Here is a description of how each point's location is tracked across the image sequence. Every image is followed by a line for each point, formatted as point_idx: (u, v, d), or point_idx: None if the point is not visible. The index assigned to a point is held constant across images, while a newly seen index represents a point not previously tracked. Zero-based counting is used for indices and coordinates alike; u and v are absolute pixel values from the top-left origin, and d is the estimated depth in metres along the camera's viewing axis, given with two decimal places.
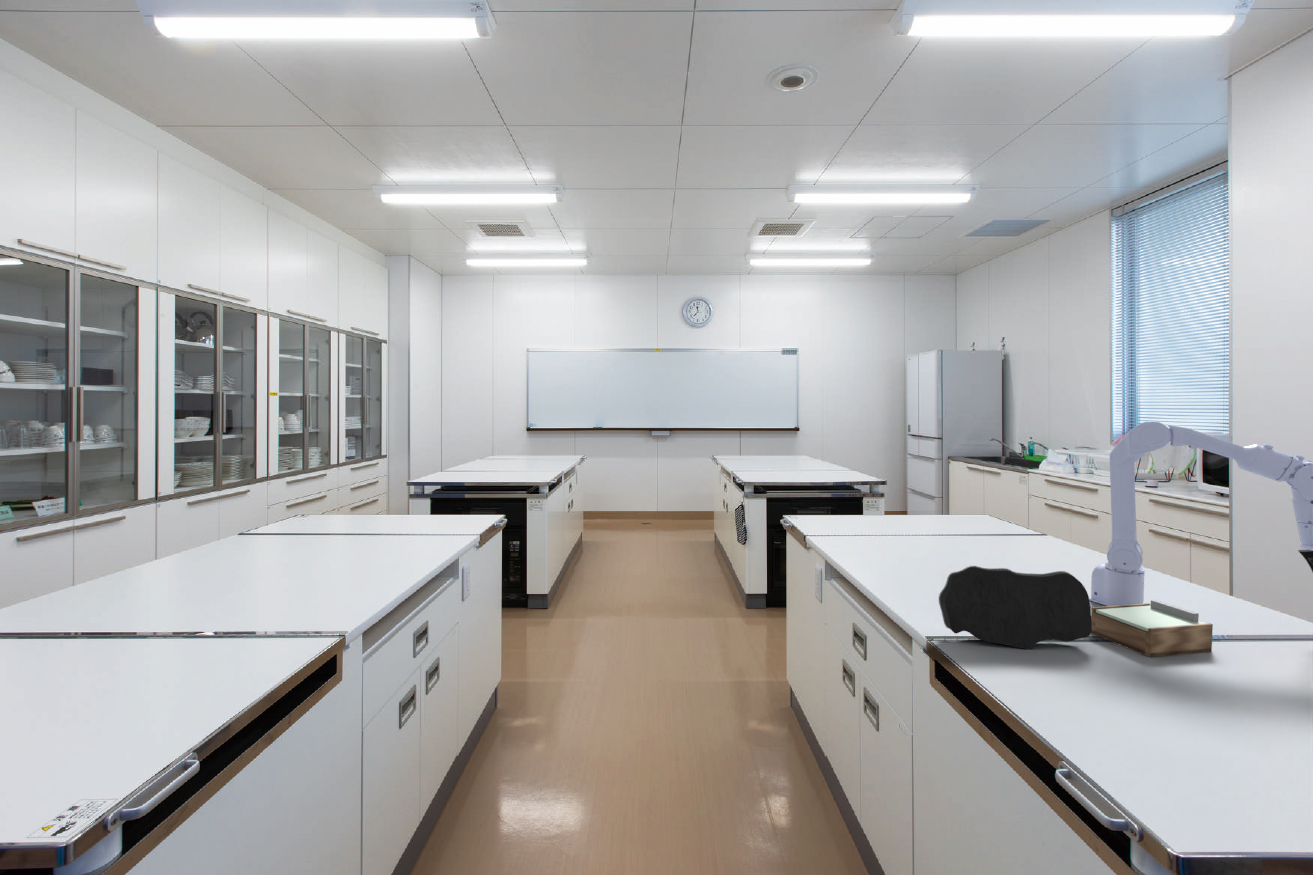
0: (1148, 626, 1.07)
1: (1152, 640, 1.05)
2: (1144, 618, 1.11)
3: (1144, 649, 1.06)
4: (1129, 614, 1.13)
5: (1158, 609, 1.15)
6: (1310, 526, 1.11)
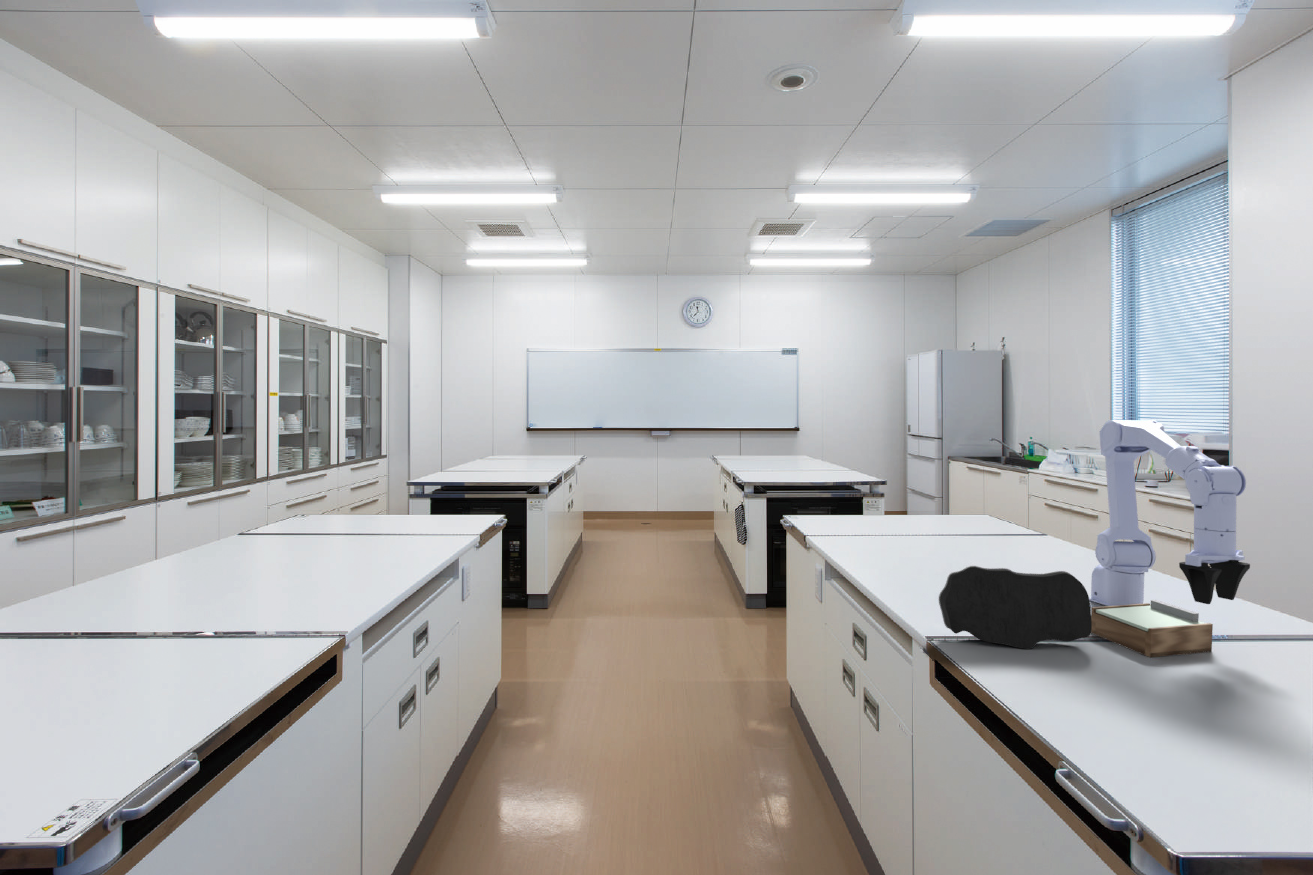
0: (1148, 626, 1.07)
1: (1152, 640, 1.05)
2: (1144, 618, 1.11)
3: (1144, 649, 1.06)
4: (1129, 614, 1.13)
5: (1158, 609, 1.15)
6: (1197, 531, 1.07)
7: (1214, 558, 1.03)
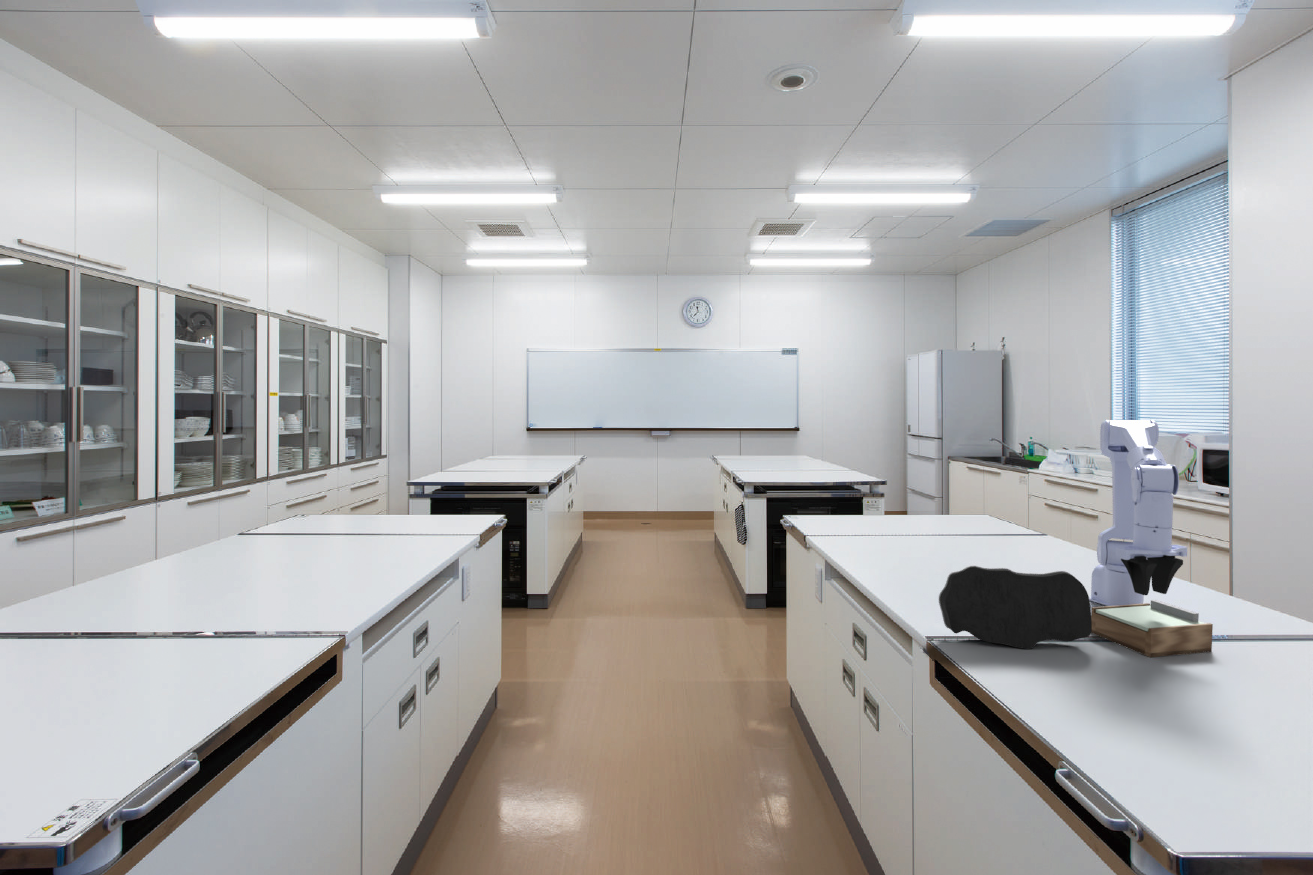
0: (1148, 626, 1.07)
1: (1152, 640, 1.05)
2: (1144, 618, 1.11)
3: (1144, 649, 1.06)
4: (1129, 614, 1.13)
5: (1158, 609, 1.15)
6: (1134, 527, 1.12)
7: (1144, 553, 1.09)
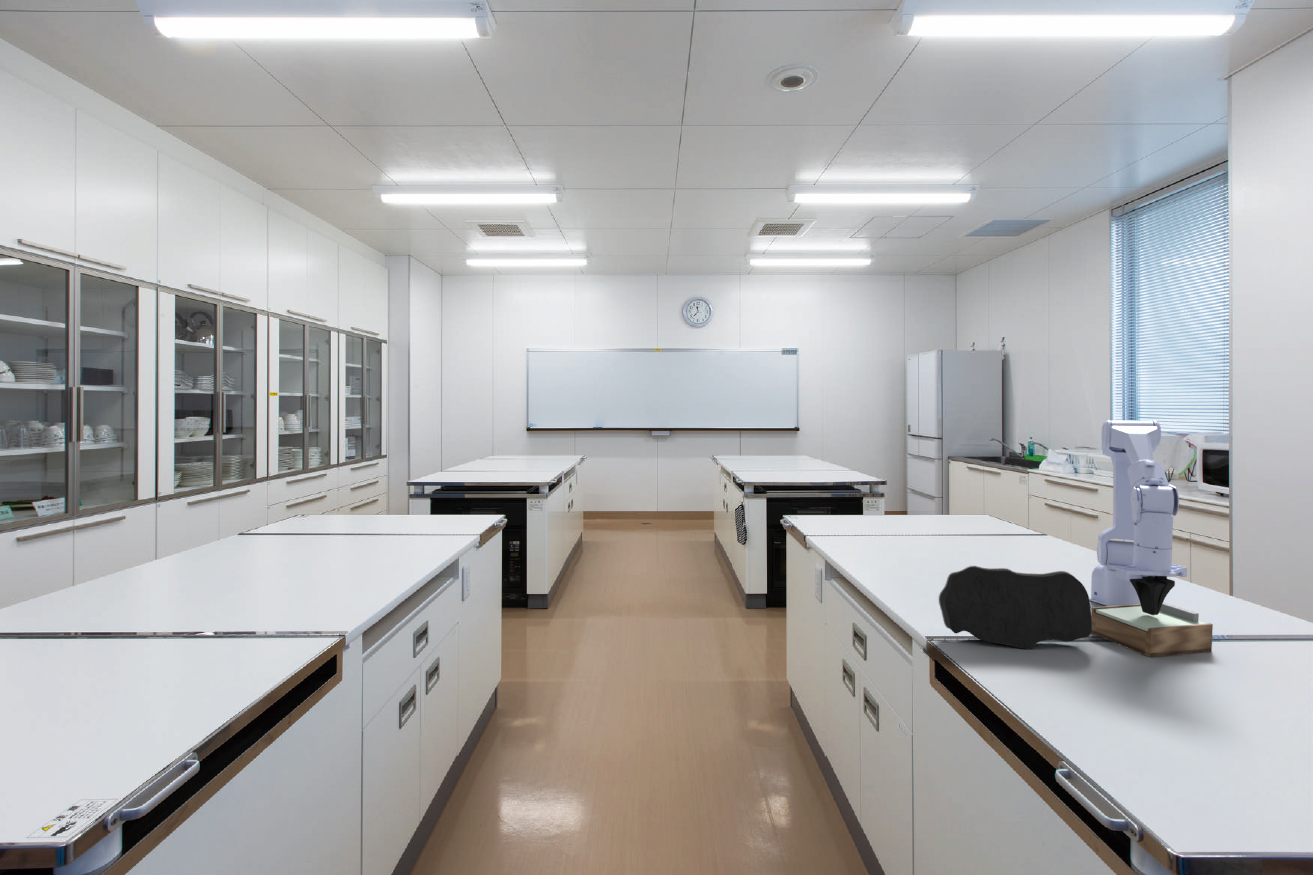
0: (1148, 626, 1.07)
1: (1152, 640, 1.05)
2: (1144, 618, 1.11)
3: (1144, 649, 1.06)
4: (1129, 614, 1.13)
5: None
6: (1134, 547, 1.12)
7: (1144, 573, 1.09)
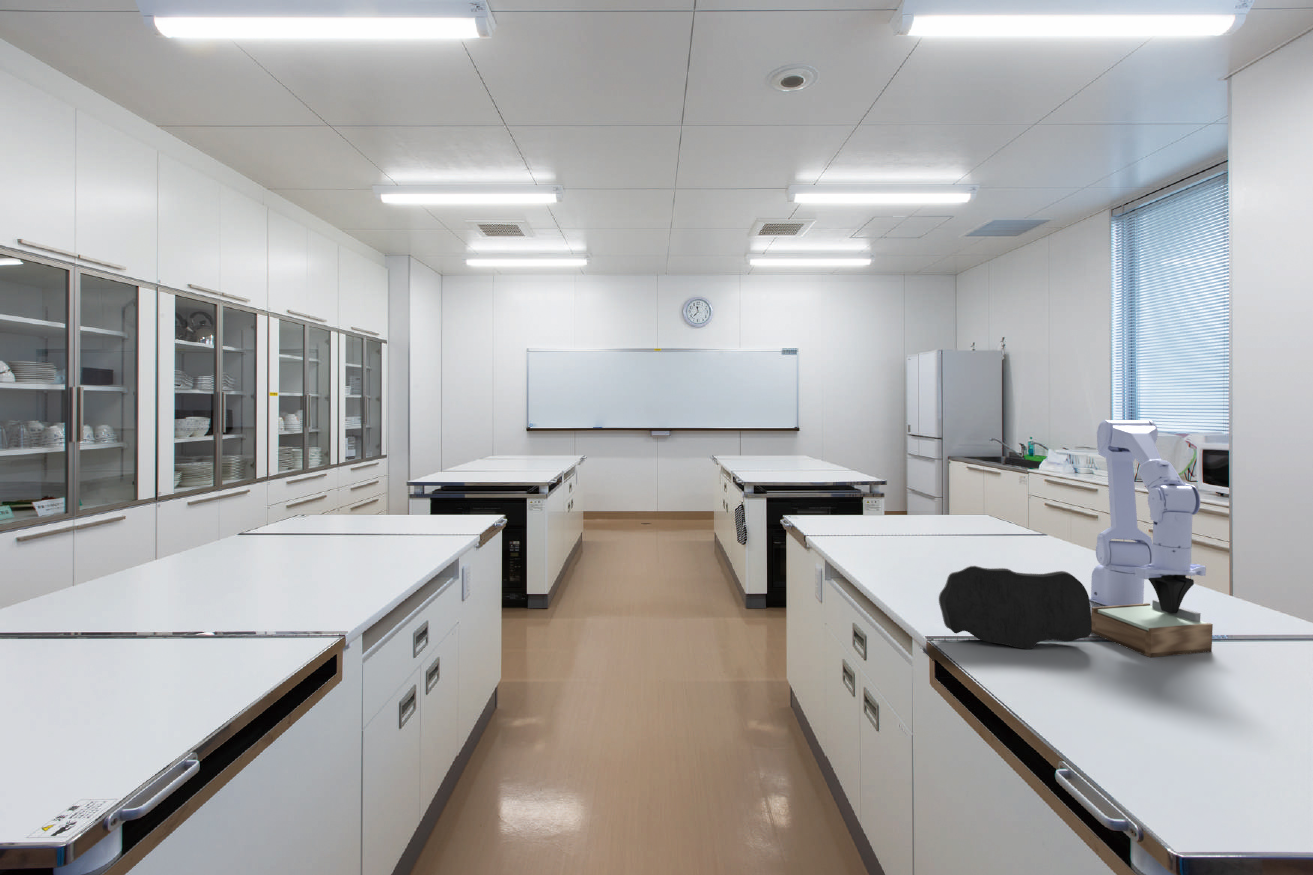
0: (1150, 626, 1.07)
1: (1152, 640, 1.05)
2: (1146, 618, 1.11)
3: (1144, 649, 1.06)
4: (1131, 614, 1.13)
5: (1160, 609, 1.15)
6: (1153, 546, 1.13)
7: (1163, 572, 1.10)
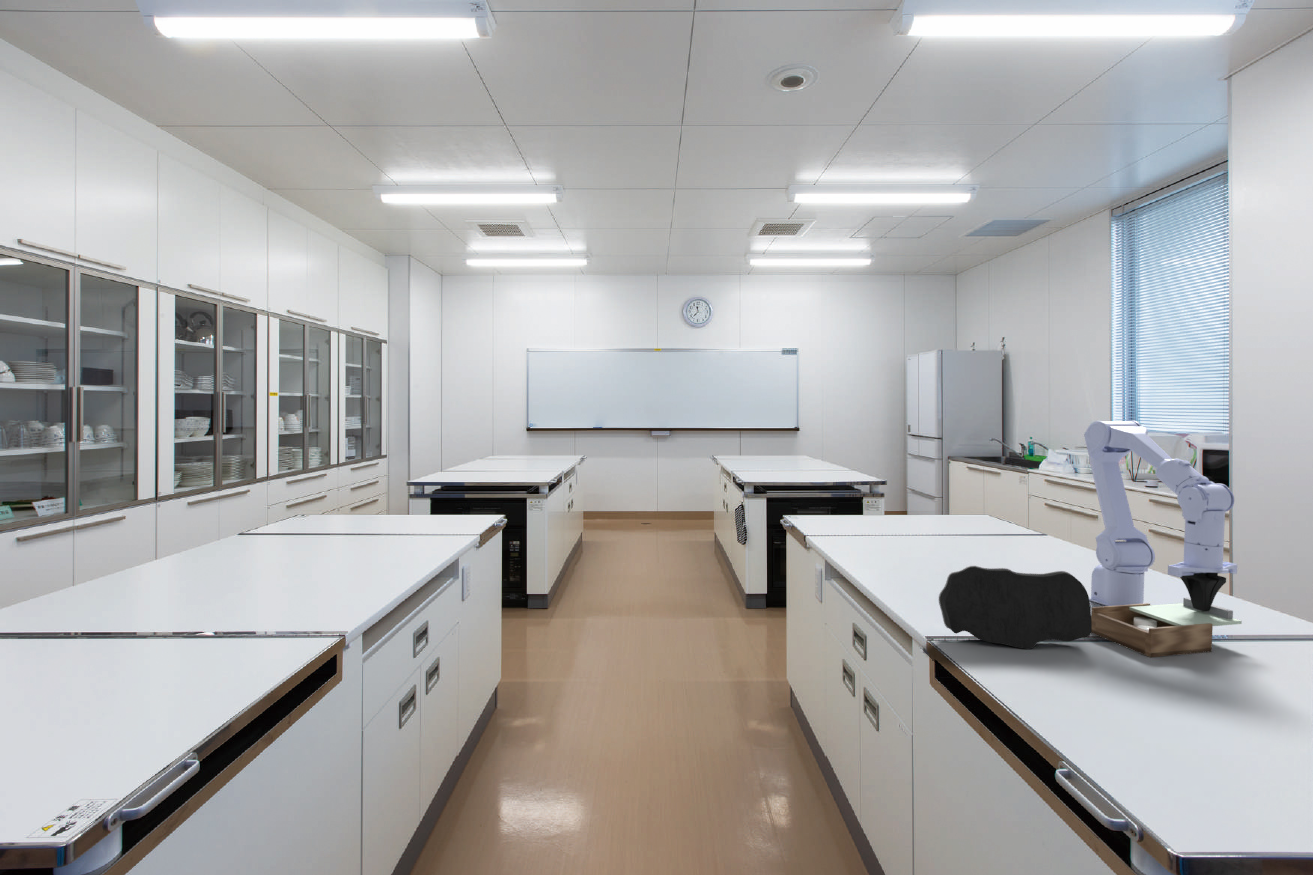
0: (1184, 623, 1.08)
1: (1152, 640, 1.05)
2: (1178, 615, 1.12)
3: (1144, 649, 1.06)
4: (1163, 611, 1.14)
5: (1191, 607, 1.16)
6: (1185, 544, 1.14)
7: (1196, 570, 1.11)
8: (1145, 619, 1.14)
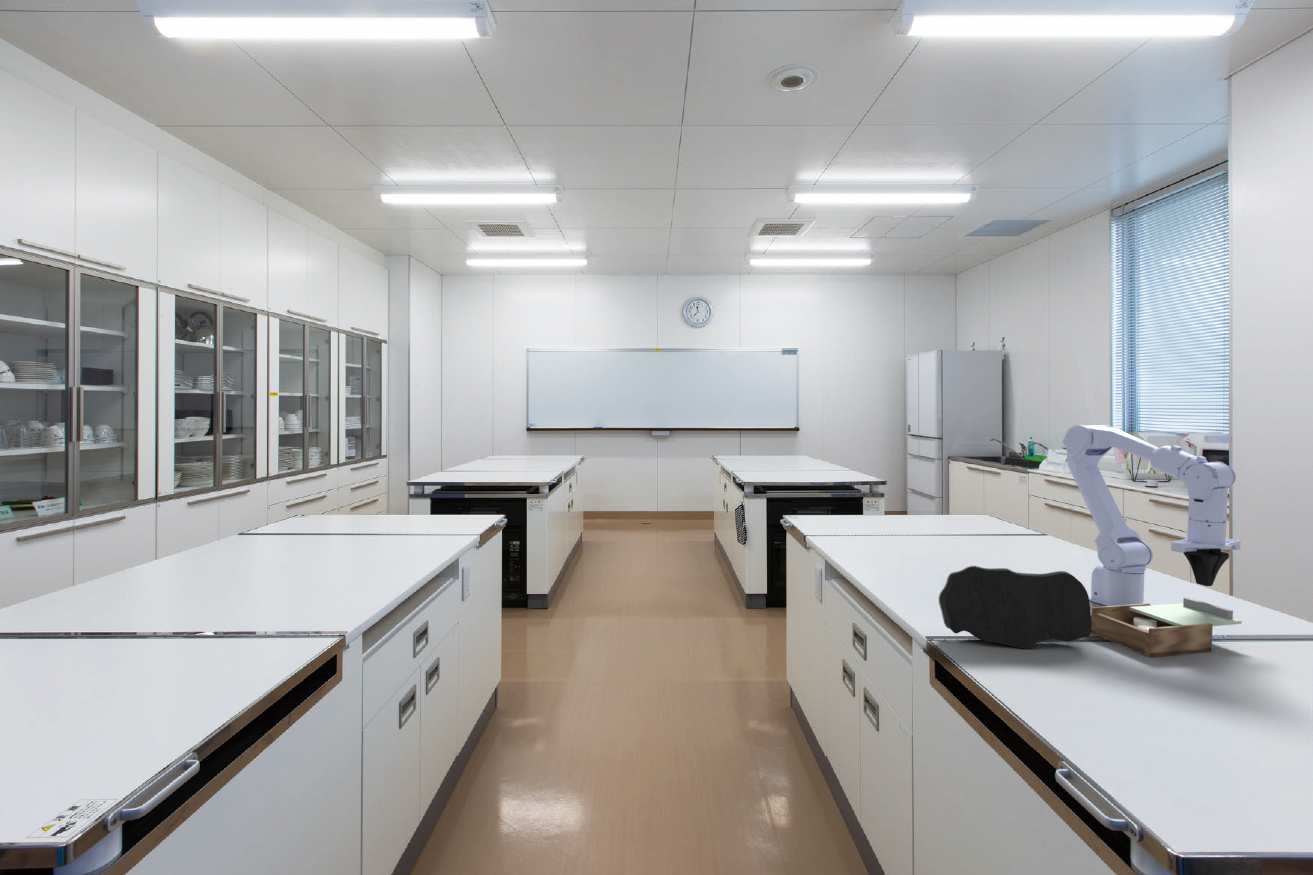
0: (1184, 623, 1.08)
1: (1152, 640, 1.05)
2: (1178, 615, 1.12)
3: (1144, 649, 1.06)
4: (1163, 611, 1.14)
5: (1191, 607, 1.16)
6: (1189, 521, 1.17)
7: (1199, 546, 1.14)
8: (1145, 619, 1.14)
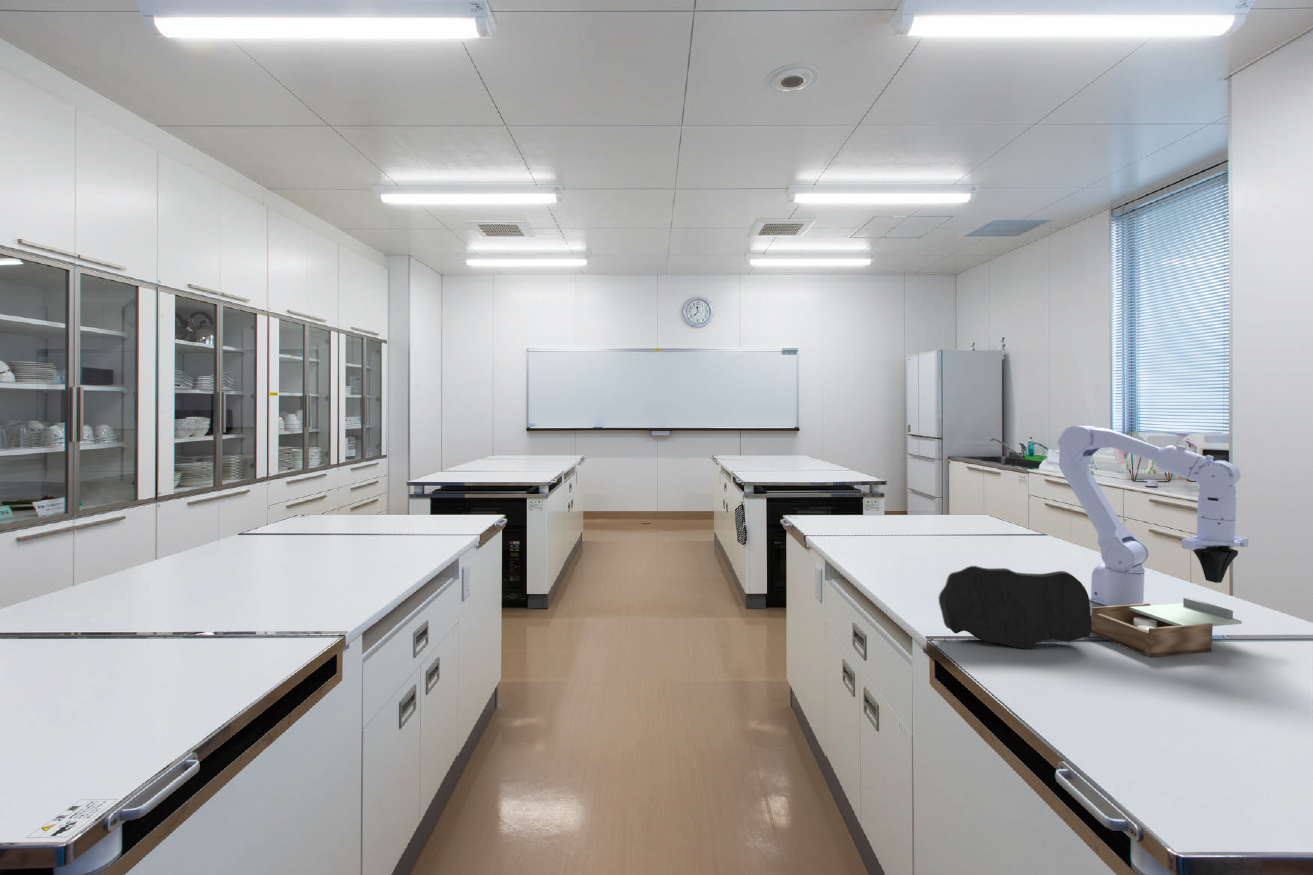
0: (1184, 623, 1.08)
1: (1152, 640, 1.05)
2: (1178, 615, 1.12)
3: (1144, 649, 1.06)
4: (1163, 611, 1.14)
5: (1191, 607, 1.16)
6: (1198, 519, 1.19)
7: (1209, 543, 1.16)
8: (1145, 619, 1.14)
